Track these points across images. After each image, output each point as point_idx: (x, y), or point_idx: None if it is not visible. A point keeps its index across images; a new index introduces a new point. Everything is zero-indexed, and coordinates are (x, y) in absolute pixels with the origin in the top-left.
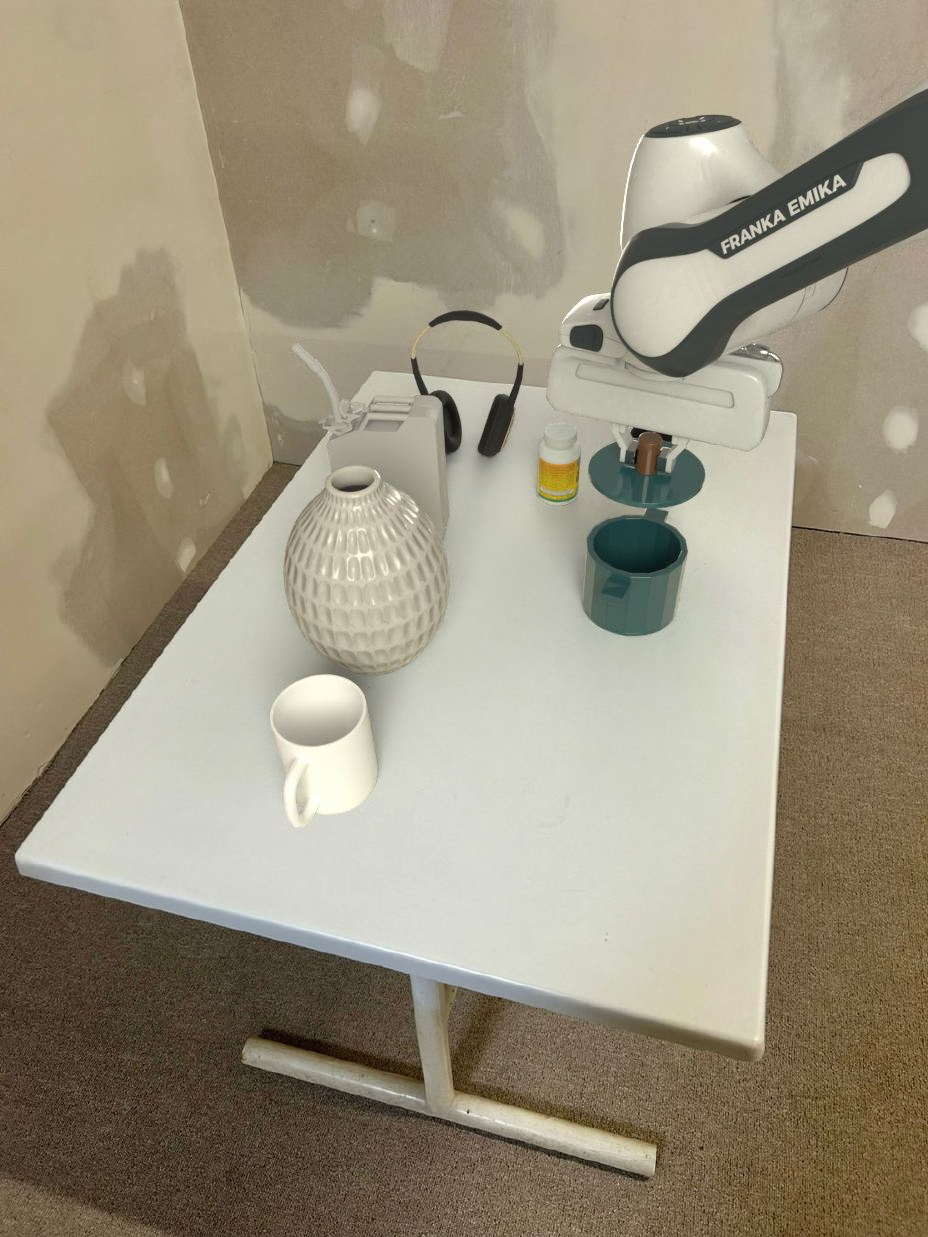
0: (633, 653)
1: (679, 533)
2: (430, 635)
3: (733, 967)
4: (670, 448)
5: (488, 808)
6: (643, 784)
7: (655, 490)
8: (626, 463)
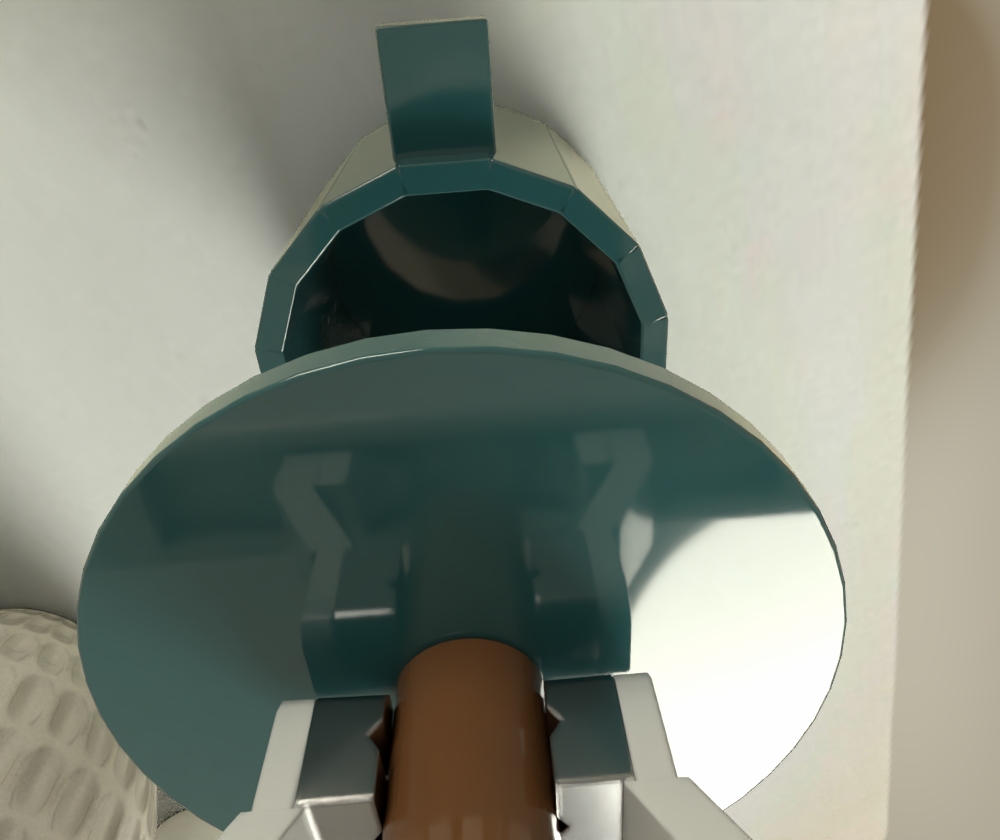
0: None
1: (602, 219)
2: (155, 799)
3: (859, 813)
4: (620, 784)
5: None
6: None
7: None
8: (330, 688)
